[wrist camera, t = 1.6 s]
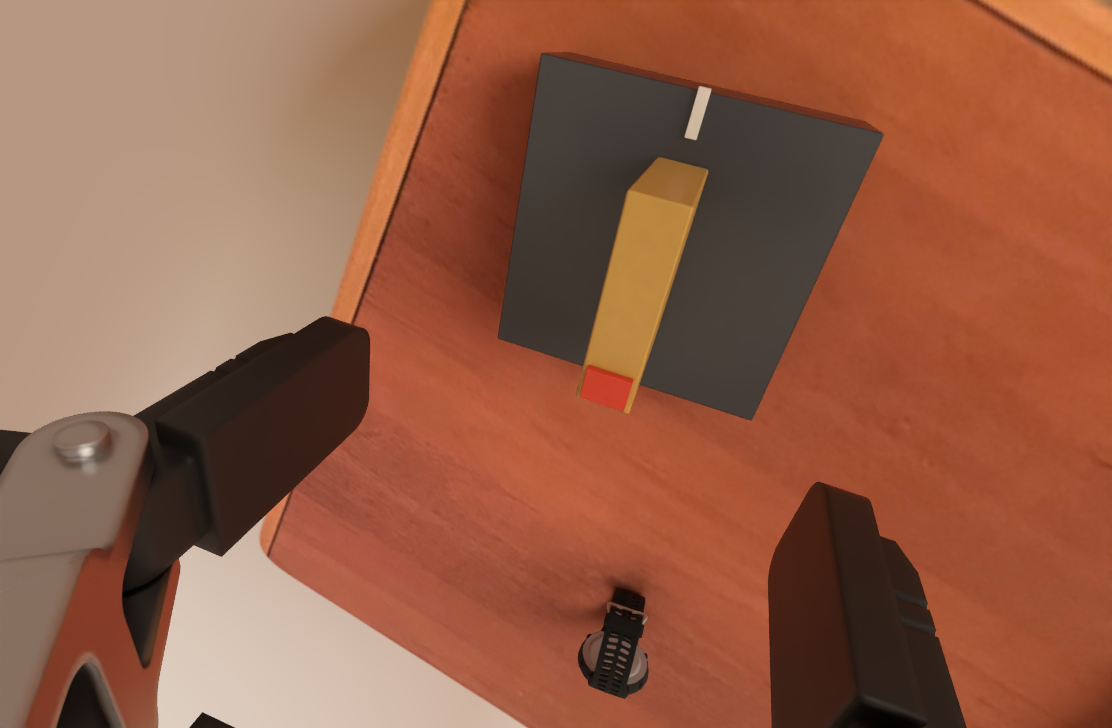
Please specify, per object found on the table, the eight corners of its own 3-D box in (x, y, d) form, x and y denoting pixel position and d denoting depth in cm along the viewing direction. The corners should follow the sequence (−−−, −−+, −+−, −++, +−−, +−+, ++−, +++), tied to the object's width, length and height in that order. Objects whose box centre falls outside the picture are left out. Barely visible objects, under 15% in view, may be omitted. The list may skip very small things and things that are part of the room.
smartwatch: (579, 602, 33) (553, 684, 28) (627, 555, 30) (606, 638, 26) (640, 641, 33) (623, 729, 28) (693, 598, 30) (683, 688, 26)
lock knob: (657, 156, 17) (625, 191, 13) (709, 169, 17) (693, 209, 13) (611, 326, 21) (572, 401, 16) (654, 340, 20) (627, 420, 16)
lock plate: (568, 49, 20) (539, 48, 17) (868, 118, 18) (887, 130, 15) (522, 311, 25) (495, 342, 22) (751, 383, 23) (750, 426, 21)
